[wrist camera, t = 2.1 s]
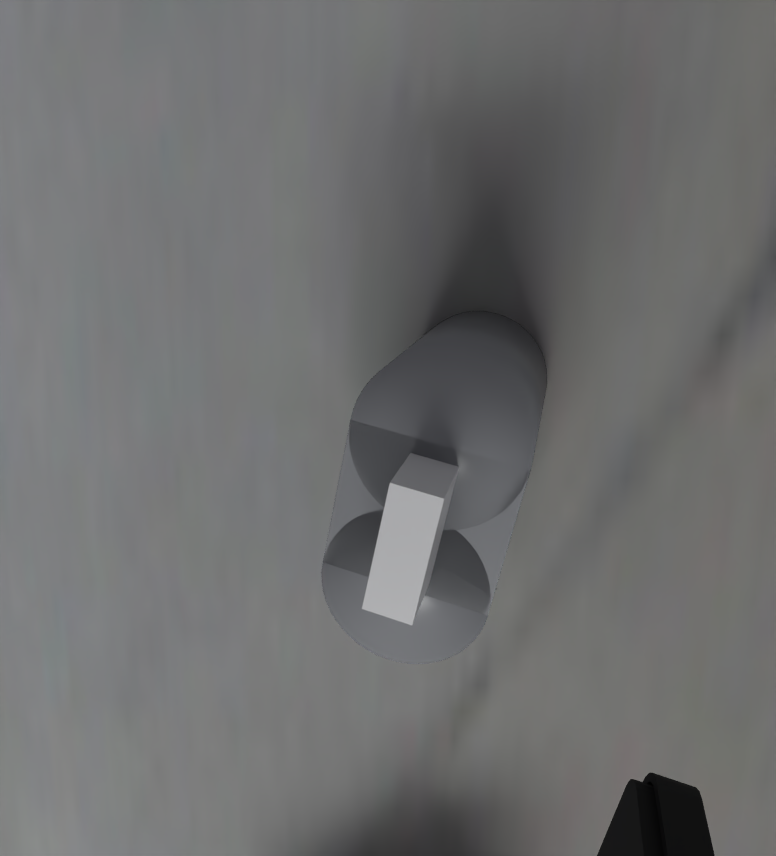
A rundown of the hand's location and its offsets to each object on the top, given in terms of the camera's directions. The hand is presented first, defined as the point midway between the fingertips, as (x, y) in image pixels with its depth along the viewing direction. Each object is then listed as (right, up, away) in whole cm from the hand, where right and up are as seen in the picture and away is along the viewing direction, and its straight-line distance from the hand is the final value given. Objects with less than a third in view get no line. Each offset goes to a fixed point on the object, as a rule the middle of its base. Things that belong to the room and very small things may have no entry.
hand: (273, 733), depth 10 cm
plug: (+4, +4, +14) cm, 15 cm away
